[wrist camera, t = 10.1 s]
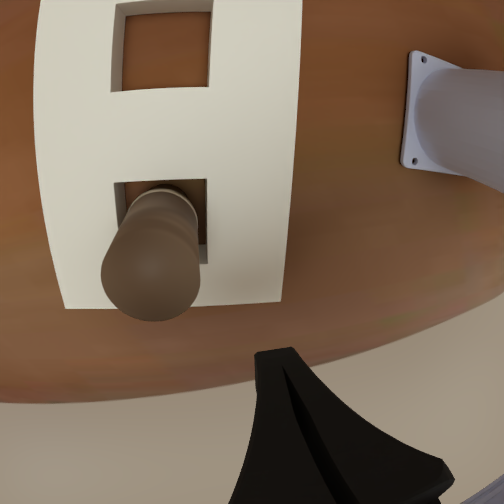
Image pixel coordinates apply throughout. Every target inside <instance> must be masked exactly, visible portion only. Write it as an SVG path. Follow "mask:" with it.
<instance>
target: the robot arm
mask: <svg viewBox="0 0 504 504" xmlns="http://www.w3.org/2000/svg"><path fill="white" fill-rule="evenodd" d="M421 57H422V58H423V63H422V61H421ZM413 158H414V160H415V161H414V163H413V164H412V160H413ZM400 162H401V164H402V166H404V167H406V168H412V169H420V170H427V171H434V172H441V173H448V174H454V175H460V176H466V177H468V178H471V179H473V180H475V181H478V182H480V183H482V184H485V185H487V186H489V187H491V188H493V189H496V190H498V191H500V192H502V193H504V71H494V70H479V69H463V68H460V67H458V66H456V65H453V64H451V63H449V62H446V61H444V60H441V59H439V58H436V57H434V56H431V55H428V54H425V53H423V52H420V51H412V52H410V54H409V72H408V90H407V103H406V115H405V125H404V134H403V143H402V150H401V158H400ZM254 358H255V382H256V383H255V384H256V392H257V401H256V408H255V415H254V422H253V428H252V433H251V437H250V441H249V446H248V449H247V453H246V456H245V460H244V463H243V466H242V469H241V472H240V476H239V478H238V481H237V483H236V486H235V489H234V491H233V494H232V496H231V499H230V501H229V503H228V504H441V502H440V501H439V499H438V497H439V496H440V495H442V493H444V492H445V491H446V490H447V489H448V488H450V487H451V486H452V485H453V483H454V480H455V478H454V477H453V475H452V473H451V471H450V470H449V468H448V467H447V465H446V464H445V463H444V461H443V460H442V459H440V458H437V457H435V456H432V455H429V454H427V453H424V452H422V451H419V450H417V449H415V448H413V447H411V446H408V445H406V444H404V443H402V442H400V441H399V440H397V439H395V438H393V437H392V436H390V435H388V434H386V433H384V432H383V431H381V430H380V429H378V428H376V427H375V426H373V425H372V424H371V423H369V422H368V421H366V420H365V419H364V418H362V417H361V416H360V415H358V414H357V413H356V412H354V411H353V410H352V409H351V408H349V407H348V406H347V405H346V404H345V403H344V402H342V401H341V400H340V399H339V398H338V397H337V396H336V395H335V394H334V393H333V392H332V391H331V390H330V389H329V388H328V387H327V386H326V385H325V384H324V383H323V382H322V381H321V380H320V379H319V378H318V377H317V376H316V375H315V374H314V372H312V370H311V369H310V368H309V367H308V366H307V364H306V363H305V362H304V361H303V360H302V358H301V357H300V356H299V354H298V353H297V352H296V351H295V349H294V348H292V347H287V348H281V349H274V350H268V351H261V352H257V353H256V354H255V355H254ZM460 504H504V474H503V475H502V476H500V477H499V478H498V479H496V480H495V481H493V482H492V483H491V484H489V485H488V486H486V487H485V488H483V489H482V490H481V491H479V492H478V493H476V494H475V495H473V496H471V497H470V498H468V499H467V500H465V501H464V502H462V503H460Z"/></svg>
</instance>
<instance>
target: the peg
mask: <svg viewBox="0 0 504 504" xmlns="http://www.w3.org/2000/svg"><path fill="white" fill-rule="evenodd" d="M200 281H201V280H200V264H199V246H198V219H197V214H196V211H195V209H194V207H193V205H192V204H191V202H190V201H189V200H188V198H187V196H186V194H185V193H184V192H183V191H182V190H181V189H180V188H178V187H176V186H173V185H170V184H161V185H158V186H155V187H153V188H152V189H150V190H149V191H147V192H145V193H143V194H141V195H140V196H139V197H137V198H136V199H135V201H134V202H133V203H132V205H131V206H130V208H129V210H128V212H127V214H126V216H125V218H124V220H123V222H122V224H121V225H120V227H119V229H118V231H117V233H116V235H115V237H114V239H113V241H112V243H111V245H110V247H109V249H108V251H107V253H106V255H105V257H104V259H103V262H102V266H101V282H102V286H103V289H104V291H105V293H106V295H107V297H108V298H109V300H110V301H111V302H112V303H113V304H114V305H115V306H116V307H117V308H118V309H119V310H120V311H122V312H123V313H125V314H127V315H129V316H131V317H133V318H136V319H139V320H144V321H164V320H168V319H172V318H174V317H176V316H178V315H180V314H182V313H183V312H185V311H186V310H187V309H188V308H189V307H190V306H191V305H192V304H193V302H194V301H195V299H196V297H197V295H198V292H199V289H200Z"/></svg>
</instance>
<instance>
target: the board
mask: <svg viewBox="0 0 504 504" xmlns="http://www.w3.org/2000/svg"><path fill="white" fill-rule="evenodd" d="M169 12H211V19H210V36H209V55H208V77H207V87H185V88H159V89H143V90H131V91H122V66H123V46H124V31H125V19H126V16H131V15H141V14H152V13H169ZM301 23H302V0H41V3H40V10H39V17H38V25H37V35H36V46H35V61H34V132H35V148H36V160H37V170H38V179H39V187H40V194H41V201H42V207H43V213H44V219H45V225H46V230H47V235H48V240H49V245H50V250H51V254H52V259H53V263H54V267H55V271H56V275H57V279H58V283H59V287H60V290H61V294H62V298H63V301H64V304H65V308H66V309H118V308H117V307H116V306H115V305H114V304H113V303H112V302H111V301H110V300H109V298H108V297H107V295H106V293H105V291H104V289H103V286H102V282H101V266H102V262H103V259H104V257H105V255H106V253H107V251H108V249H109V247H110V245H111V243H112V241H113V239H114V237H115V235H116V233H117V231H118V229H119V227H120V225H121V224H122V222H123V220H124V218H125V216H126V214H127V210H126V198H125V185H124V182H132V181H150V180H173V179H205V223H206V244H204V245H198V246H199V264H200V280H201V281H200V289H199V292H198V295H197V297H196V299H195V301H194V302H193V304H192V305H191V306H190V307H193V306H215V305H234V304H251V303H266V302H280V301H281V293H282V284H283V274H284V264H285V254H286V244H287V233H288V222H289V211H290V200H291V188H292V175H293V162H294V149H295V135H296V120H297V104H298V87H299V68H300V48H301Z"/></svg>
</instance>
